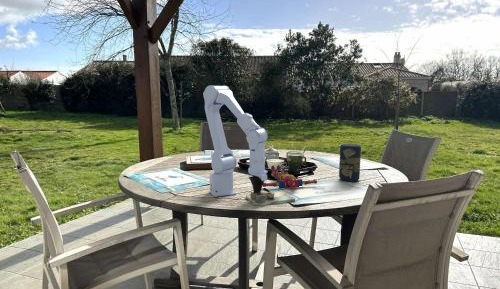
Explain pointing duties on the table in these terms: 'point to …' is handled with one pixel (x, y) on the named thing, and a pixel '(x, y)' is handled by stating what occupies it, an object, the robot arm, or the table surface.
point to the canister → (349, 162)
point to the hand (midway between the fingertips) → (257, 194)
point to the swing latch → (268, 194)
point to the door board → (278, 198)
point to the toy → (286, 179)
